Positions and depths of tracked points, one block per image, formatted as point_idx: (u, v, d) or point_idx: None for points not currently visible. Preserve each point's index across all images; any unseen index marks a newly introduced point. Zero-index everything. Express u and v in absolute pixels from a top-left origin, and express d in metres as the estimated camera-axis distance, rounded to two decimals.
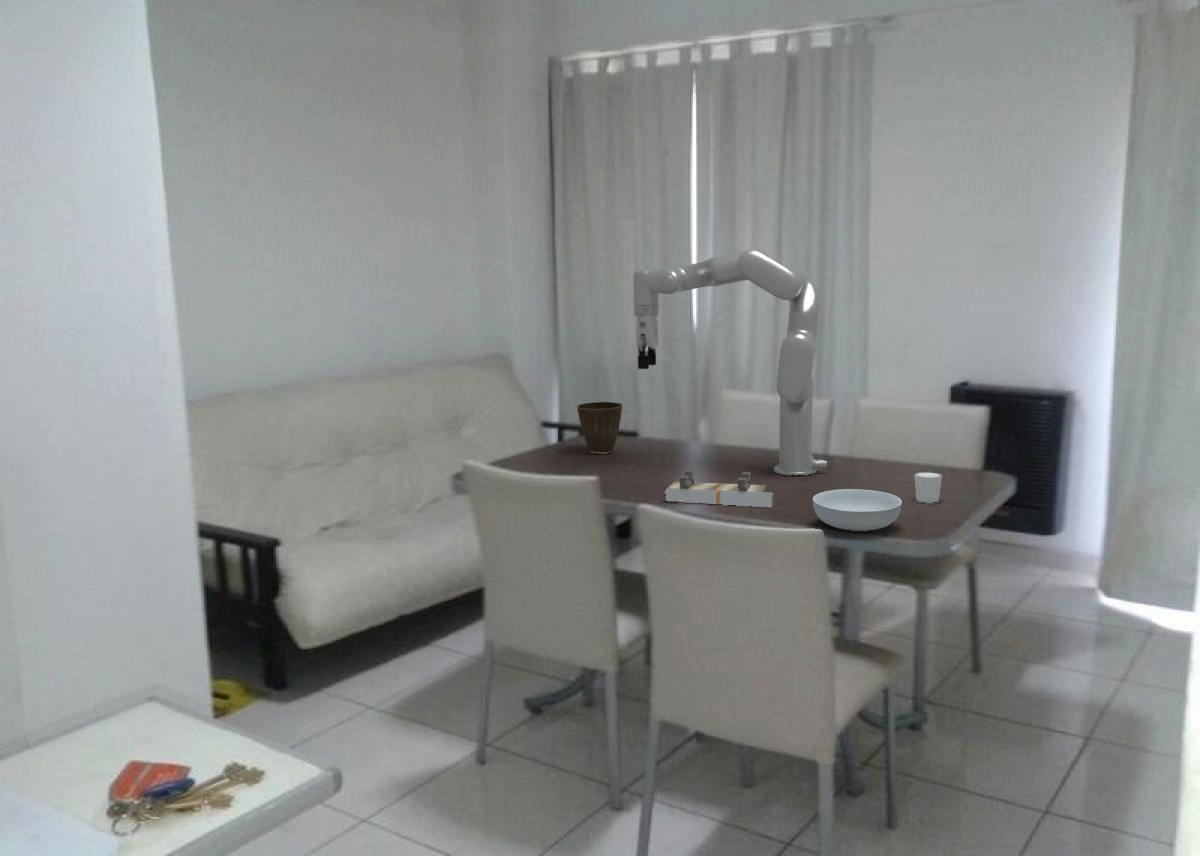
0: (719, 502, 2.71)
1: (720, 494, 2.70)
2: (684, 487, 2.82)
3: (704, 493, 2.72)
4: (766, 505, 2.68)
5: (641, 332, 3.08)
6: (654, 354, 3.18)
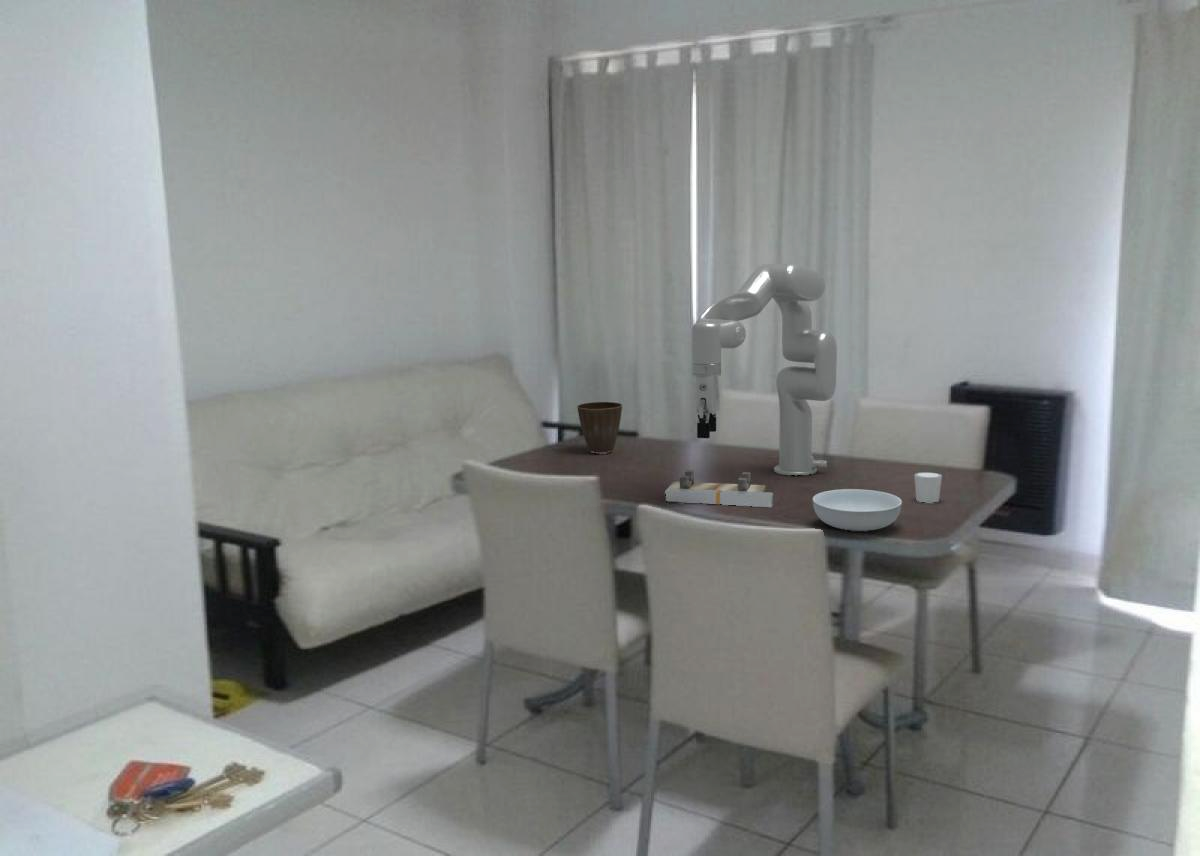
0: (719, 502, 2.71)
1: (720, 494, 2.70)
2: (684, 487, 2.82)
3: (704, 493, 2.72)
4: (766, 505, 2.68)
5: (701, 395, 2.64)
6: (714, 419, 2.74)
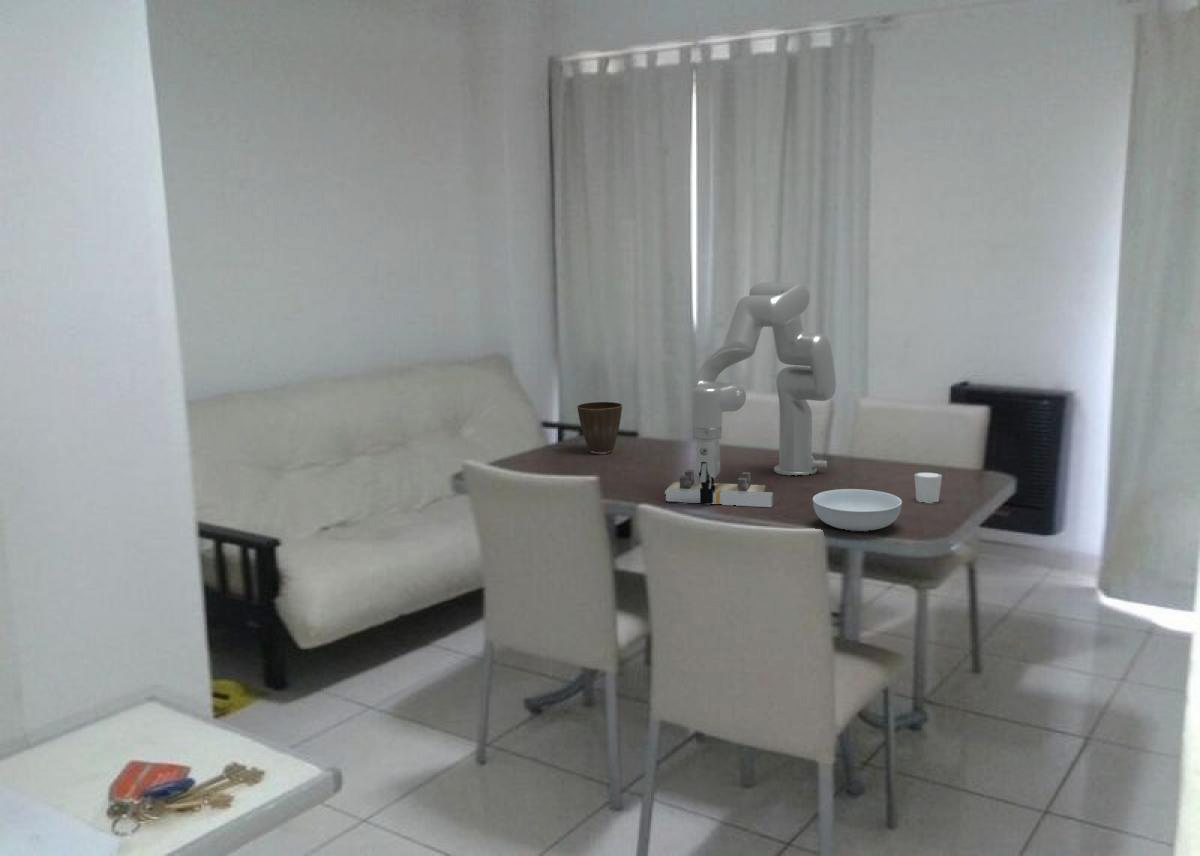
0: (719, 502, 2.71)
1: (720, 494, 2.70)
2: (684, 487, 2.82)
3: None
4: (766, 505, 2.68)
5: (702, 459, 2.67)
6: (713, 488, 2.74)
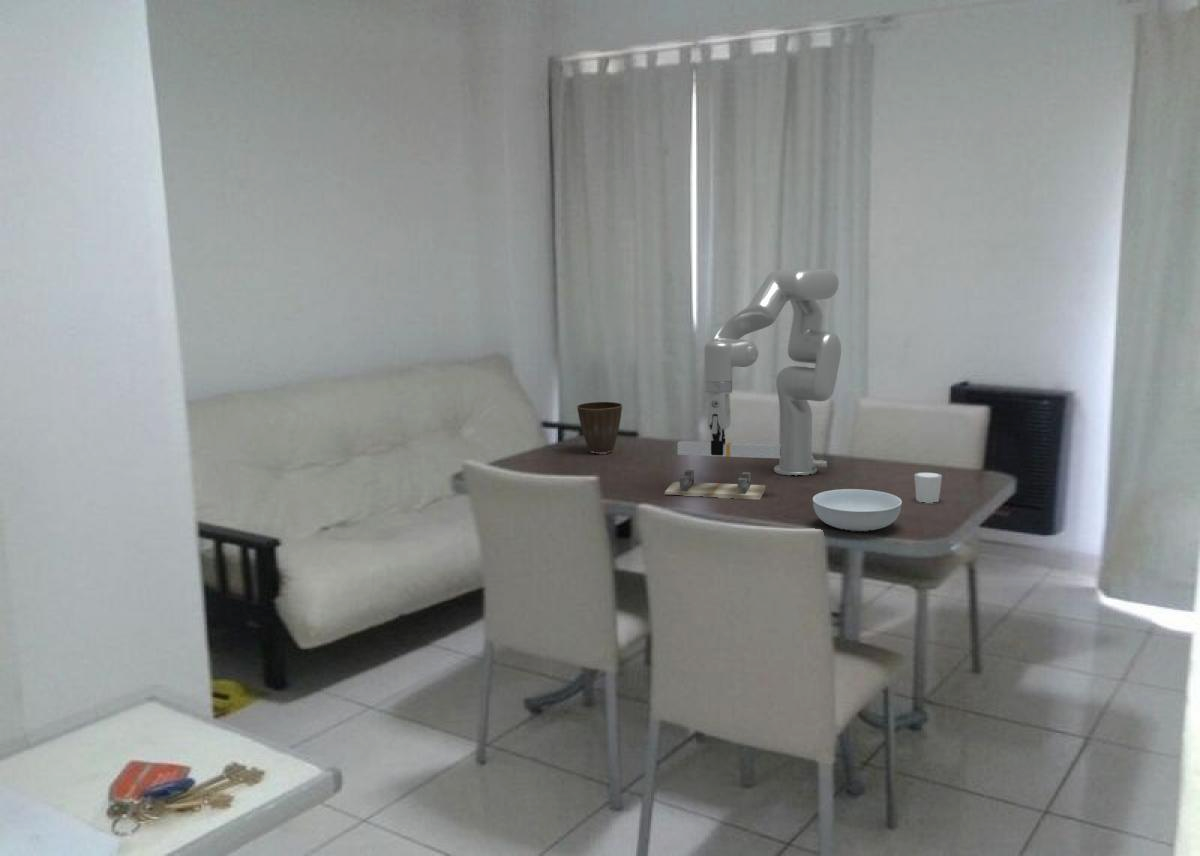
0: (729, 454, 2.80)
1: (730, 446, 2.79)
2: (684, 487, 2.82)
3: None
4: (774, 456, 2.77)
5: (713, 412, 2.76)
6: (723, 440, 2.83)
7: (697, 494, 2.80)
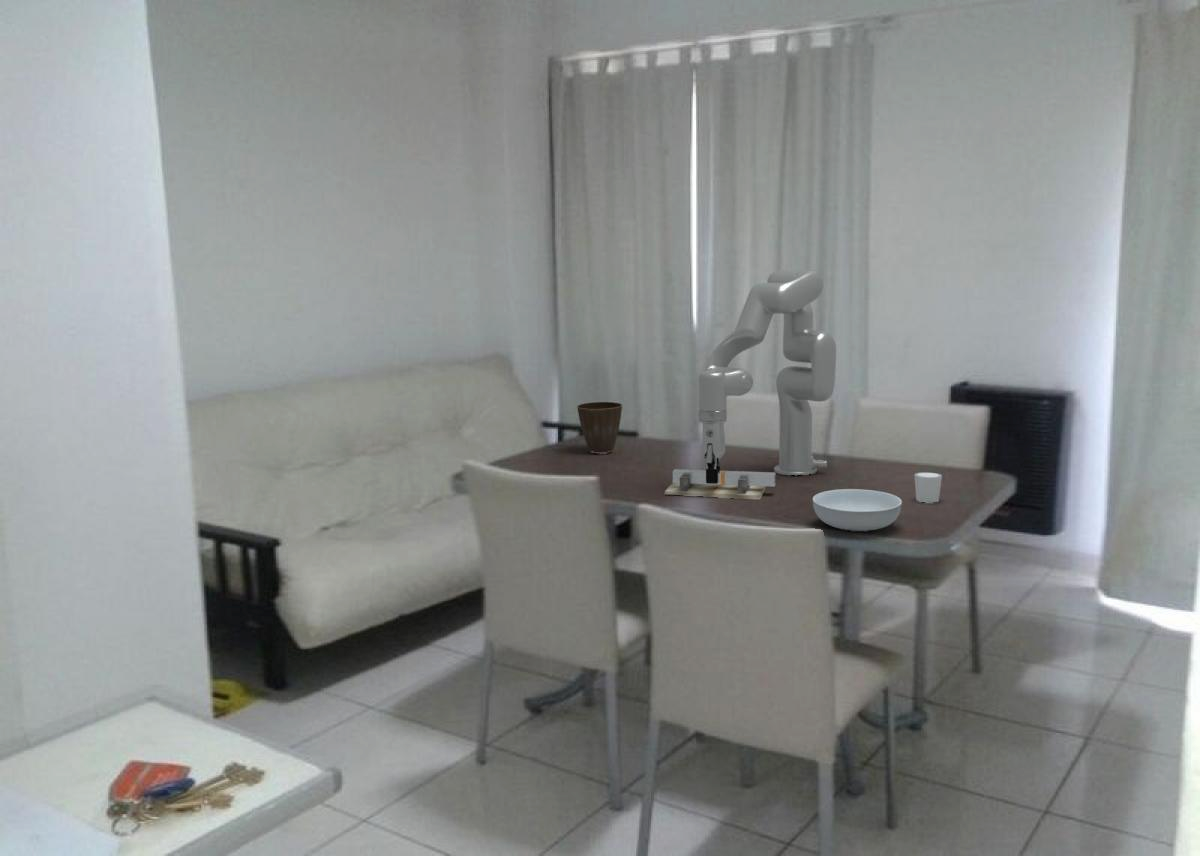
0: (724, 482, 2.82)
1: (725, 474, 2.81)
2: (684, 487, 2.82)
3: None
4: (769, 484, 2.79)
5: (708, 441, 2.78)
6: (718, 468, 2.85)
7: (697, 494, 2.80)
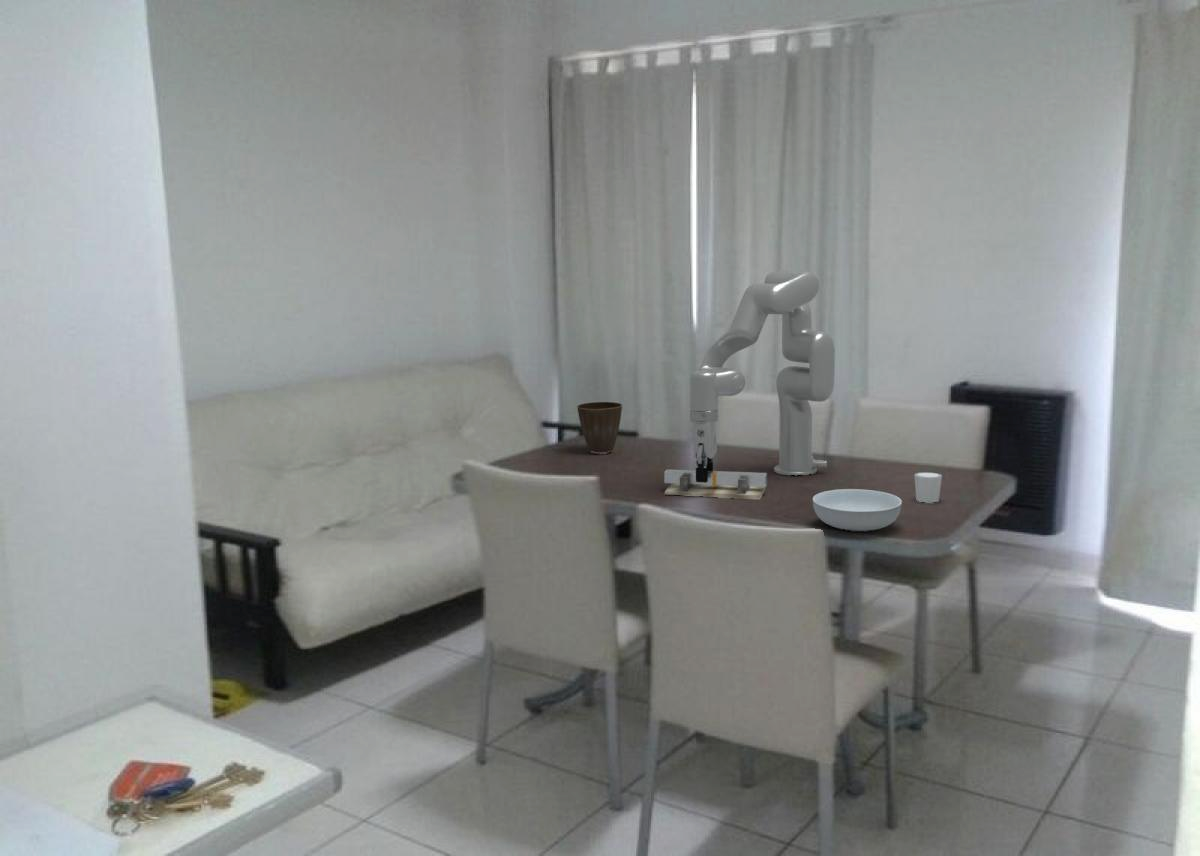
0: (715, 482, 2.83)
1: (716, 474, 2.82)
2: (684, 487, 2.82)
3: None
4: (760, 485, 2.79)
5: (699, 441, 2.78)
6: (711, 464, 2.88)
7: (697, 494, 2.80)
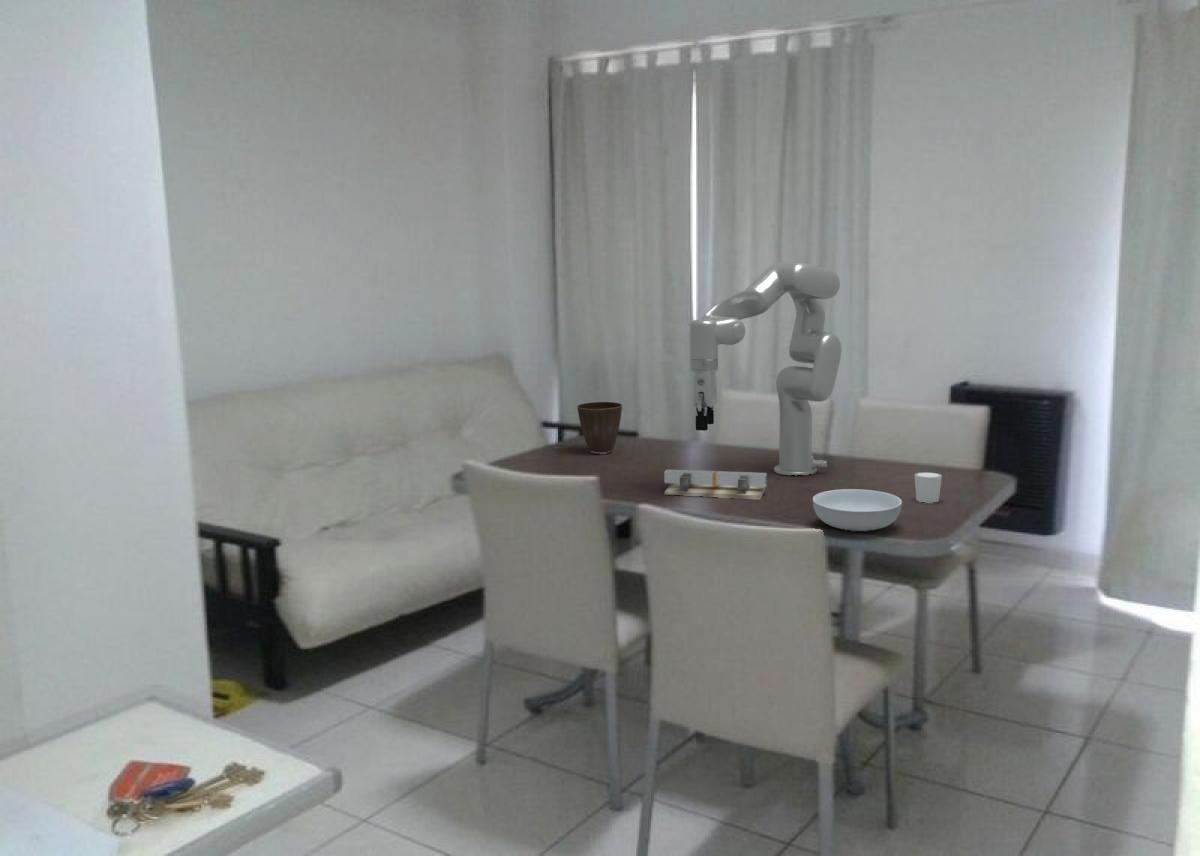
0: (715, 482, 2.83)
1: (716, 474, 2.82)
2: (684, 487, 2.82)
3: (701, 473, 2.83)
4: (760, 485, 2.79)
5: (699, 389, 2.76)
6: (712, 412, 2.86)
7: (697, 494, 2.80)
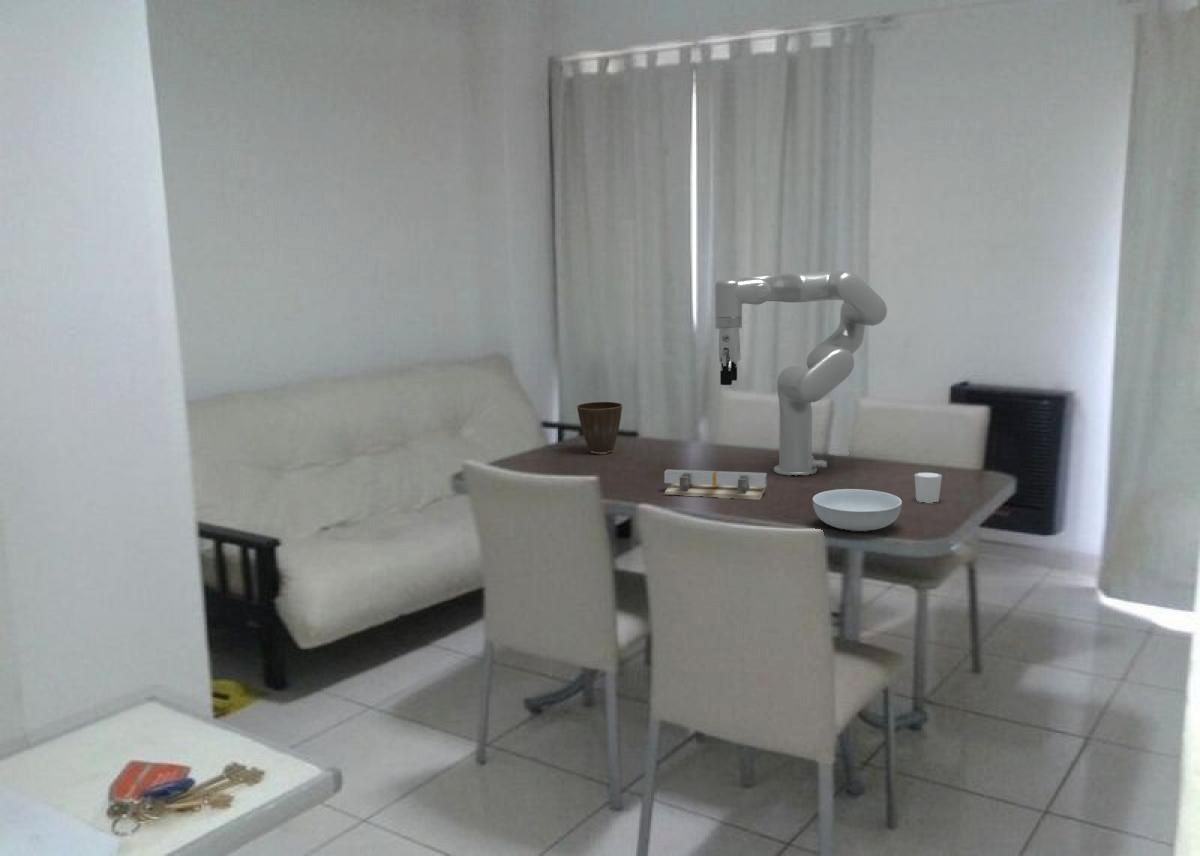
0: (715, 482, 2.83)
1: (716, 474, 2.82)
2: (684, 487, 2.82)
3: (701, 473, 2.83)
4: (760, 485, 2.79)
5: (724, 346, 2.90)
6: (735, 369, 3.00)
7: (697, 494, 2.80)
